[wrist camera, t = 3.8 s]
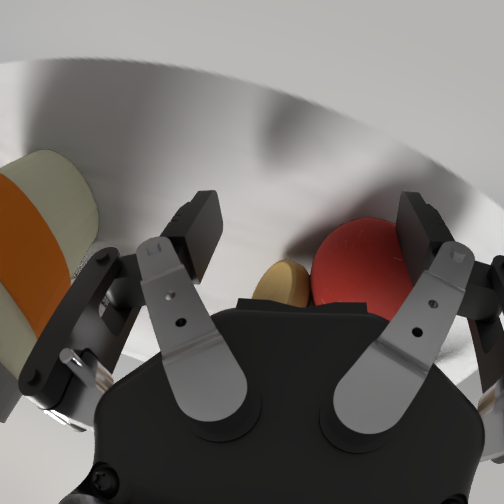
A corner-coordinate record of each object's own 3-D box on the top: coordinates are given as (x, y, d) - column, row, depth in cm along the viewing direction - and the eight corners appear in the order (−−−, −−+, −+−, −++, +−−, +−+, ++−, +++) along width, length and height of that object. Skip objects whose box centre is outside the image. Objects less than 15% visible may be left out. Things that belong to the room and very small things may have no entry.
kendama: (281, 352, 27) (450, 261, 14) (255, 408, 22) (461, 351, 9) (216, 306, 26) (363, 165, 13) (180, 360, 22) (348, 236, 9)
